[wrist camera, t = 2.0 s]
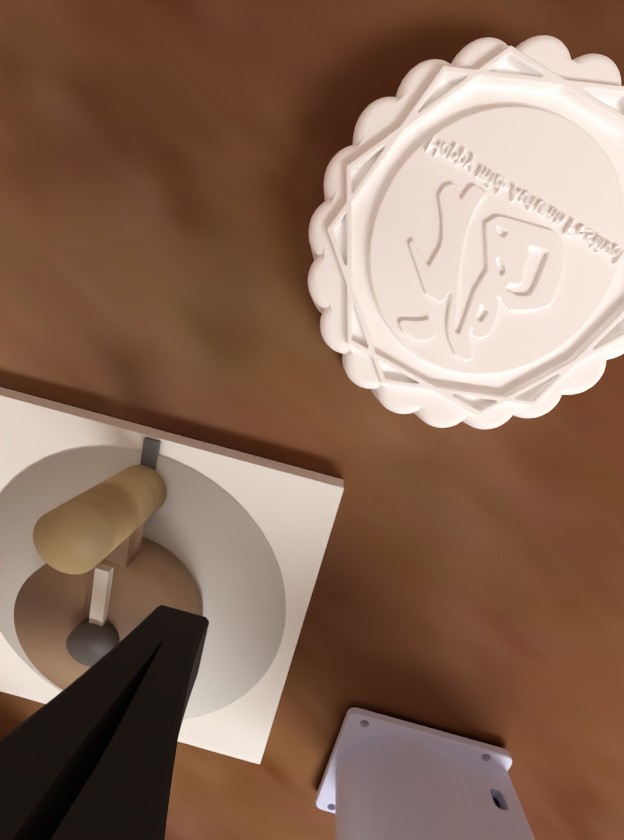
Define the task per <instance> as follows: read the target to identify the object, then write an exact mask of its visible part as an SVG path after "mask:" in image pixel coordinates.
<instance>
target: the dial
mask: <svg viewBox="0 0 624 840" xmlns="http://www.w3.org/2000/svg"><path fill="white" fill-rule="evenodd" d="M166 497H167V488H166V485H165V482H164V480H163V478H162V477H161V476H160V475H159V474H158V473H157V472H156V471H155V470H153V469H152V468H150V467H147V466H144V465H133V466H129V467H127V468H125V469H124V470H122V471H120V472H118V473H117V474H115V475H113V476H111V477H109V478H108V479H106V480H104V481H102V482H101V483H99V484H97V485H95V486H94V487H92V488H90V489H88V490H86V491H85V492H83V493H81V494H79V495H78V496H76V497H74V498H72V499H70V500H69V501H67V502H65V503H63V504H62V505H60V506H58V507H56V508H55V509H53V510H51V511H49V512H47V513H46V514H44V515H43V516H41V517H40V518H39V519H38V521H37V522H36V524H35V526H34V529H33V541H34V545H35V548H36V550H37V552H38V554H39V555H40V556H41V558H42V559H43V560H44V561H45V562H46V564H45V565H43V566H42V567H40V568H39V569H38V570H36V571H35V572H34V573H33V574H32V575H31V576H30V577H28V578H27V580H26V581H25V582H24V584H23V585H22V586H21V588H20V590H19V592H18V594H17V598H16V601H15V606H14V625H15V631H16V634H17V637H18V640H19V642H20V645H21V647H22V649H23V651H24V652H25V654H26V656H27V657H28V659H29V660H30V661H31V663H32V664H33V665H34V666H35V668H36V669H37V670H38V671H39V672H40V673H41V674H42V675H43V676H44V677H46V678H47V679H48V680H49V681H50V682H52V683H53V684H54V685H56V686H57V687H59V688H60V689H62V690H64V689H65V688H67V687H68V686H69V685H70V684H72V683H73V682H74V681H75V680H76V679H78V678H79V677H80V676H81V675H82V674H83V673H85V672H86V671H87V670H88V669H89V668H90V667H92V666H93V665H94V664H95V663H96V662H97V661H99V660H100V659H101V658H102V657H103V656H105V655H106V654H107V653H108V652H109V651H110V650H111V649H113V648H114V647H115V646H116V645H117V644H118V643H119V642H120V641H121V640H123V639H124V638H125V637H126V636H127V635H128V634H129V633H130V632H131V631H132V630H134V629H135V628H136V627H137V626H138V625H139V624H140V623H141V622H142V621H143V620H144V619H145V618H146V617H147V616H148V615H149V614H150V613H152V612H153V611H154V610H155V609H156V608H157V607H158V606H160V605H164V606H168V607H171V608H175V609H179V610H182V611H186V612H190V613H193V614H197V615H200V616H203V605H202V599H201V595H200V592H199V589H198V586H197V584H196V582H195V580H194V578H193V576H192V575H191V573H190V572H189V570H188V569H187V568H186V566H185V565H184V564H183V563H182V562H181V561H180V560H179V559H178V558H177V557H176V556H175V555H174V554H173V553H171V552H170V551H169V550H167V549H166V548H165V547H163V546H161V545H160V544H158V543H156V542H154V541H152V540H150V539H148V538H145V537H142V534H143V527H144V522H145V521H146V520H147V519H148V518H149V517H151V516H152V515H153V514H154V513H155V512H156V511H157V510H158V509H159V508H161V507H162V505H163V504H164V502H165V500H166Z"/></svg>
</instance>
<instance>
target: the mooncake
mask: <svg viewBox="0 0 624 840" xmlns="http://www.w3.org/2000/svg"><path fill="white" fill-rule="evenodd" d="M324 199H325V202H323V203H322V204H321V205H320V206H319V207H318V208H317V209H316V210H315V212H314V214H313V215H312V218H311V220H310V224H309V231H308V234H309V242H310V246H311V250H312V255H313V259H314V262H313V263H312V265H311V267H310V270H309V273H308V289H309V292H310V295H311V297H312V299H313V302H314V304H315V306H316V308H317V309H318V310H319V312H320V313H322V315H321V319H320V331H321V334H322V337H323V339H324V341H325V343H326V344H327V345H328V346H329V347H330V348H331V349H333V350H334V351H336V352H339V353H342V364H343V368H344V370H345V372H346V374H347V376H348V377H349V378H350V380H351V381H352V382H354V383H355V384H356V385H358V386H360V387H363V388H367V389H371V391H372V393H373V394H374V396H375V397H376V398H377V399H378V400H379V401H380V402H381V403H382V405H383V406H384V407H385V408H387V409H388V410H390V411H392V412H395V413H398V414H409V413H414V414H415V415H417V416H418V417H419V418H420V419H422V420H423V421H424V422H426V423H427V424H429V425H431V426H434V427H439V428H447V427H451V426H454V425H457V424H458V423H460V422H461V421H463V422H464V423H466V424H468V425H470V426H472V427H474V428H477V429H492V428H496V427H498V426H500V425H502V424H504V423H505V422H507V421H508V420H509V419H510V418H511V417H512V415H514V416H517V417H521V418H535V417H539V416H542V415H544V414H546V413H547V412H549V411H550V410H552V409H553V408H554V407H555V406H556V404H557V403H558V402H559V400H560V398H561V395H572V394H577V393H581V392H583V391H585V390H587V389H589V388H591V387H592V386H593V385H594V384H596V383H597V382H598V380H599V379H600V378H601V376H602V375H603V373H604V370H605V367H606V360H608V359H612V358H615V357H618V356H620V355H622V354H624V86H621V76H620V73H619V70H618V68H617V66H616V65H615V63H614V62H613V61H612V60H611V59H609V58H608V57H606V56H604V55H600V54H586V55H582V56H580V57H577V58H575V59H573V60H571V57H570V54H569V52H568V49H567V48H566V46H565V45H564V44H563V43H562V42H561V41H560V40H559V39H557V38H555V37H552V36H548V35H540V36H535V37H532V38H529V39H527V40H525V41H524V42H522V43H521V44H519V45H518V46H517V47H516V48H514V47H513V46H511V45H510V46H508V45H507V44H506V43H504V42H503V41H501V40H499V39H496V38H491V37H486V38H480V39H477V40H475V41H473V42H471V43H469V44H468V45H466V46H465V47H464V48H463V49H462V50H461V51H460V52H459V53H458V54H457V55H456V57H455V58H454V59H453V61H452V63H451V64H450V63H448V62H446V61H444V60H439V59H430V60H426V61H423V62H421V63H419V64H418V65H416V66H415V67H413V68H412V69H411V70H410V71H409V72H408V73H407V74H406V76H405V77H404V79H403V80H402V82H401V84H400V86H399V88H398V91H397V94H396V97H384V98H380V99H378V100H376V101H374V102H372V103H371V104H370V105H369V106H368V107H367V108H365V110H364V111H363V112H362V114H361V115H360V117H359V119H358V121H357V123H356V126H355V129H354V134H353V144H352V145H350V146H348V147H345V148H343V149H342V150H340V151H339V152H338V153H337V154H336V155H335V156H334V157H333V158H332V159H331V161H330V163H329V164H328V166H327V169H326V172H325V176H324Z"/></svg>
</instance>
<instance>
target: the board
mask: <svg viewBox="0 0 624 840" xmlns="http://www.w3.org/2000/svg"><path fill="white" fill-rule="evenodd" d="M133 465H144V466H147V467H150V468H152V469H153V470H155V471H156V472H157V473H158V474H159V475H160V476H161V477H162V478H163V480H164V482H165V485H166V488H167V497H166V500H165V502H164V504H163V505H162V507H161V508H159V509H158V510H157V511H156V512H155V513H154V514H153V515H152V516H151V517H149V518H148V519H147V520H146V521H145V522H144V527H143V534H142V537H145V538H148V539H150V540H152V541H154V542H156V543H158V544H160V545H161V546H163V547H165V548H166V549H167V550H169V551H170V552H171V553H173V554H174V555H175V556H176V557H177V558H178V559H179V560H180V561H181V562H182V563H183V564H184V565H185V566H186V568H187V569H188V570H189V572H190V573H191V575H192V576H193V578H194V580H195V582H196V584H197V586H198V589H199V592H200V595H201V599H202V605H203V616H204V617H206V618H207V619H208V621H209V625H208V630H207V634H206V639H205V643H204V648H203V653H202V657H201V662H200V666H199V671H198V675H197V678H196V680H195V683H194V686H193V689H192V692H191V695H190V698H189V701H188V704H187V708H186V711H185V714H184V718H183V721H182V725H181V728H180V732H179V736H178V742H182V743H186V744H189V745H193V746H196V747H200V748H203V749H207V750H210V751H214V752H217V753H221V754H224V755H228V756H232V757H235V758H239V759H242V760H246V761H249V762H253V763H256V764H260V762H261V759H262V756H263V752H264V749H265V746H266V743H267V739H268V736H269V733H270V730H271V726H272V723H273V720H274V716H275V713H276V710H277V707H278V703H279V700H280V697H281V693H282V690H283V687H284V684H285V680H286V677H287V674H288V670H289V667H290V664H291V661H292V657H293V654H294V651H295V648H296V644H297V641H298V638H299V634H300V631H301V628H302V625H303V621H304V618H305V615H306V611H307V608H308V605H309V602H310V598H311V595H312V592H313V588H314V585H315V582H316V579H317V575H318V572H319V569H320V565H321V562H322V559H323V556H324V552H325V549H326V546H327V543H328V539H329V536H330V533H331V529H332V526H333V523H334V520H335V516H336V513H337V510H338V506H339V503H340V500H341V497H342V493H343V490H344V480H343V479H340V478H336V477H332V476H328V475H325V474H321V473H317V472H314V471H310V470H306V469H303V468H299V467H295V466H291V465H288V464H284V463H280V462H277V461H273V460H269V459H265V458H262V457H258V456H254V455H251V454H247V453H243V452H240V451H236V450H232V449H228V448H225V447H221V446H217V445H214V444H210V443H206V442H203V441H199V440H195V439H191V438H188V437H184V436H180V435H177V434H173V433H169V432H166V431H162V430H158V429H154V428H151V427H147V426H143V425H140V424H136V423H132V422H129V421H125V420H121V419H117V418H114V417H110V416H106V415H103V414H99V413H95V412H92V411H88V410H84V409H80V408H77V407H73V406H69V405H66V404H62V403H58V402H54V401H51V400H47V399H43V398H40V397H36V396H32V395H29V394H25V393H21V392H17V391H14V390H10V389H6V388H3V387H0V691H2V692H5V693H9V694H12V695H16V696H19V697H23V698H26V699H30V700H33V701H37V702H41V703H44V704H47V703H48V702H49V701H50V700H52V699H53V698H54V697H55V696H57V695H58V694H59V693H60V692H62V691H63V690H62V689H60V688H59V687H57V686H56V685H54V684H53V683H52V682H50V681H49V680H48V679H47V678H46V677H44V676H43V675H42V674H41V673H40V672H39V671H38V670H37V669H36V668H35V666H34V665H33V664H32V663H31V661H30V660H29V659H28V657H27V656H26V654H25V652H24V651H23V649H22V647H21V645H20V642H19V640H18V637H17V634H16V631H15V625H14V606H15V601H16V598H17V594H18V592H19V590H20V588H21V586H22V585H23V584H24V582H25V581H26V580H27V578H28V577H30V576H31V575H32V574H33V573H34V572H35V571H36V570H38V569H39V568H40V567H42V566H43V565H45V564H46V562H45V561H44V560H43V559H42V558H41V556H40V555H39V554H38V552H37V550H36V548H35V545H34V541H33V529H34V526H35V524H36V522H37V521H38V519H39V518H40V517H41V516H43V515H44V514H46V513H47V512H49V511H51V510H53V509H55V508H56V507H58V506H60V505H62V504H63V503H65V502H67V501H69V500H70V499H72V498H74V497H76V496H78V495H79V494H81V493H83V492H85V491H86V490H88V489H90V488H92V487H94V486H95V485H97V484H99V483H101V482H102V481H104V480H106V479H108V478H109V477H111V476H113V475H115V474H117V473H118V472H120V471H122V470H124V469H125V468H127V467H129V466H133Z"/></svg>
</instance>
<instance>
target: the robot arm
mask: <svg viewBox="0 0 624 840" xmlns="http://www.w3.org/2000/svg"><path fill="white" fill-rule="evenodd" d="M208 625H209V621H208V619H207V618H206V617H204V616H200V615H197V614H193V613H190V612H186V611H182V610H179V609H175V608H171V607H168V606H164V605H160V606H158V607H157V608H156V609H155V610H154V611H153V612H152V613H150V614H149V615H148V616H147V617H146V618H145V619H144V620H143V621H142V622H141V623H140V624H139V625H138V626H137V627H136V628H135V629H134V630H132V631H131V632H130V633H129V634H128V635H127V636H126V637H125V638H124V639H123V640H121V641H120V642H119V643H118V644H117V645H116V646H115V647H114V648H113V649H111V650H110V651H109V652H108V653H107V654H106V655H105V656H103V657H102V658H101V659H100V660H99V661H97V662H96V663H95V664H94V665H93V666H92V667H90V668H89V669H88V670H87V671H86V672H85V673H83V674H82V675H81V676H80V677H79V678H78V679H76V680H75V681H74V682H73V683H72V684H70V685H69V686H68V687H67V688H65V689H64V690H63V691H62V692H60V693H59V694H58V695H57V696H55V697H54V698H53V699H52V700H50V701H49V702H48V703H47V704H45V705H44V706H43V707H42V708H40V709H39V710H38V711H37V712H35V713H34V714H33V715H31V716H30V717H29V718H28V719H26V720H25V721H24V722H23V723H21V724H20V725H19V726H17V727H16V728H15V729H14V730H12V731H11V732H10V733H8V734H7V735H6V736H4V737H3V738H2V739H0V840H164V837H165V828H166V819H167V811H168V803H169V795H170V788H171V781H172V774H173V767H174V760H175V754H176V747H177V741H178V736H179V732H180V728H181V725H182V721H183V718H184V714H185V711H186V708H187V704H188V701H189V698H190V695H191V692H192V689H193V686H194V683H195V680H196V678H197V675H198V671H199V666H200V662H201V657H202V653H203V648H204V643H205V639H206V634H207V630H208ZM511 764H512V759H511V756H510V754H509V752H508V751H507V750H506V749H504V748H501V747H497V746H494V745H490V744H486V743H483V742H479V741H476V740H472V739H468V738H465V737H461V736H458V735H454V734H451V733H447V732H443V731H440V730H436V729H433V728H429V727H425V726H422V725H418V724H415V723H411V722H408V721H404V720H400V719H397V718H393V717H390V716H386V715H382V714H379V713H375V712H372V711H368V710H365V709H361V708H357V707H353V708H350V709H349V710H348V711H347V713H346V716H345V719H344V721H343V724H342V727H341V729H340V732H339V735H338V737H337V740H336V743H335V745H334V748H333V751H332V753H331V756H330V759H329V762H328V764H327V767H326V770H325V772H324V775H323V778H322V780H321V783H320V786H319V788H318V791H317V794H316V806H317V807H318V808H319V809H321V810H325V811H328V812H332V813H335V833H336V840H535V838H534V835H533V833H532V831H531V828H530V826H529V823H528V821H527V818H526V816H525V814H524V811H523V809H522V806H521V804H520V801H519V799H518V796H517V794H516V792H515V789H514V787H513V784H512V782H511V779H510V777H509V774H508V772H507V771H508V770H509V768H510V766H511Z"/></svg>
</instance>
